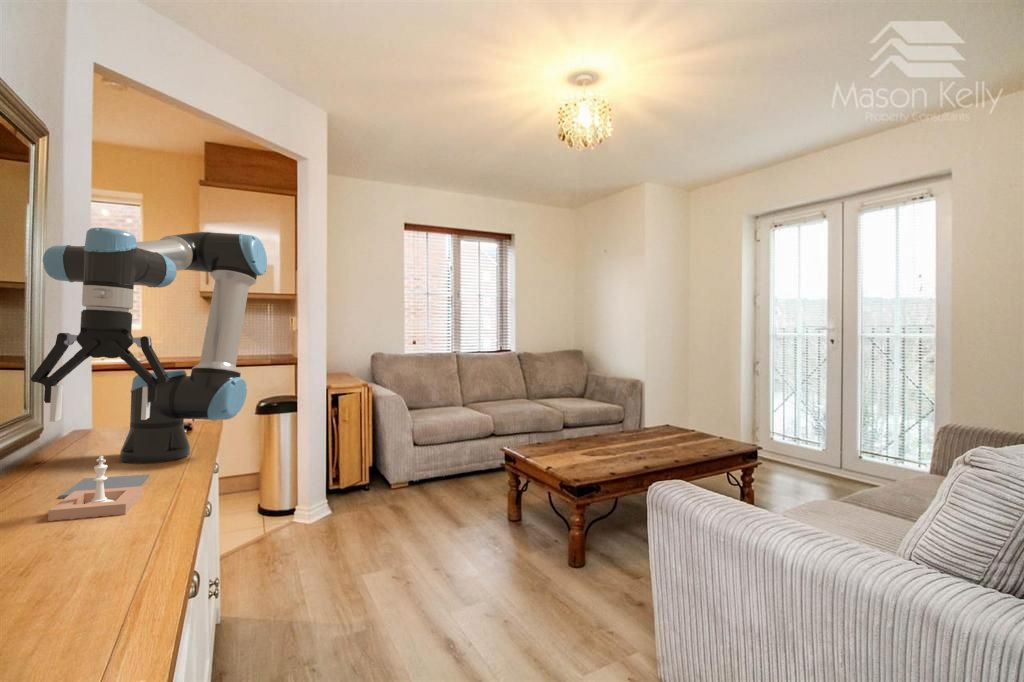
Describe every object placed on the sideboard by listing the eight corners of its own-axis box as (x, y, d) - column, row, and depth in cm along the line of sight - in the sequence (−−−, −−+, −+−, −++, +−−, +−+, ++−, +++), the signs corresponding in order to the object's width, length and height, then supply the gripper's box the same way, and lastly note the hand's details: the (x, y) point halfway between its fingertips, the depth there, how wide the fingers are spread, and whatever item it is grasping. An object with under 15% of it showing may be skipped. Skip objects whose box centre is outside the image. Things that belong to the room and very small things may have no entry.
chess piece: (95, 513, 89) (98, 460, 89) (74, 510, 90) (77, 458, 90) (122, 504, 93) (124, 454, 93) (102, 502, 94) (104, 452, 94)
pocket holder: (74, 501, 94) (74, 491, 94) (142, 495, 99) (142, 486, 99) (48, 521, 84) (48, 510, 84) (125, 514, 89) (125, 503, 89)
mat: (83, 481, 106) (83, 478, 106) (149, 476, 111) (149, 474, 111) (59, 498, 95) (60, 495, 95) (134, 492, 100) (134, 490, 100)
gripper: (9, 303, 83) (3, 424, 82) (180, 313, 93) (175, 421, 93) (31, 305, 89) (25, 417, 89) (188, 314, 100) (183, 415, 100)
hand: (101, 419), depth 91 cm, fingers open, 13 cm apart
